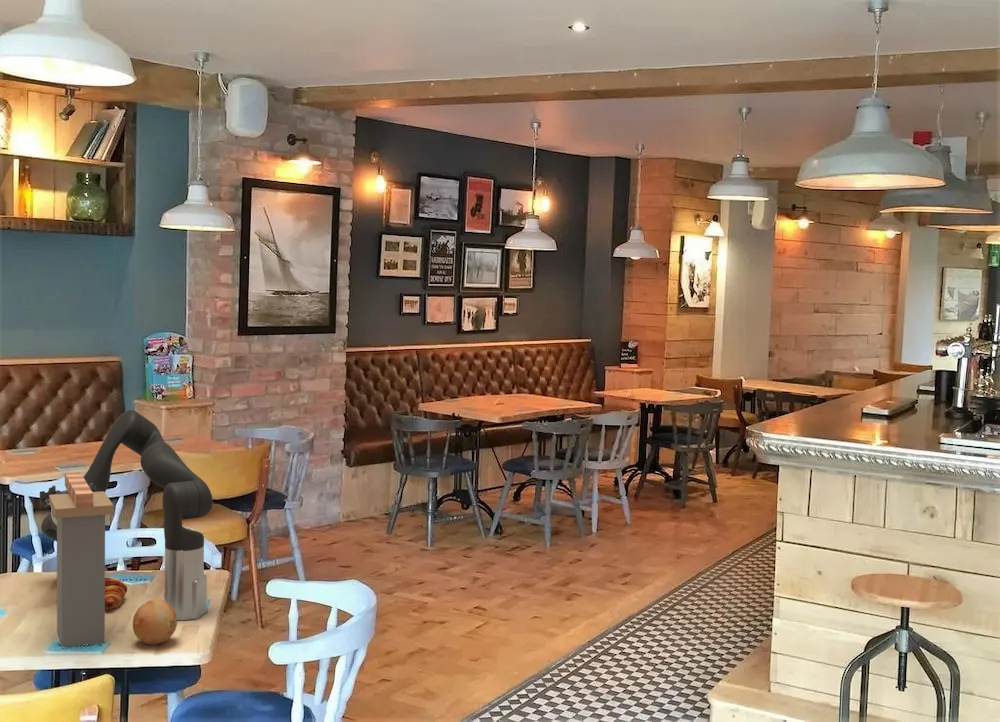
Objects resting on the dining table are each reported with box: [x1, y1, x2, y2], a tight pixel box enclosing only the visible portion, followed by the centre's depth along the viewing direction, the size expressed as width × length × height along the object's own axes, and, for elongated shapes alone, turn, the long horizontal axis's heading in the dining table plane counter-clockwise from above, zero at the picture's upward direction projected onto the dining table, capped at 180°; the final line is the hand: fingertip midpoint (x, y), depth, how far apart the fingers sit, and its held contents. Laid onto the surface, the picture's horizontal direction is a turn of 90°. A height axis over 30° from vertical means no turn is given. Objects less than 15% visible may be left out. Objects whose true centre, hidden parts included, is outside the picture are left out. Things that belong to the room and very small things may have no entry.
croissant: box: [105, 576, 128, 611], centre depth 266 cm, size 21×10×8 cm, turn 29°
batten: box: [64, 471, 93, 508], centre depth 242 cm, size 26×4×3 cm, turn 28°
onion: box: [132, 598, 178, 646], centre depth 237 cm, size 10×10×10 cm
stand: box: [49, 491, 114, 648], centre depth 239 cm, size 16×12×32 cm
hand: (73, 488), depth 252 cm, fingers open, 8 cm apart
